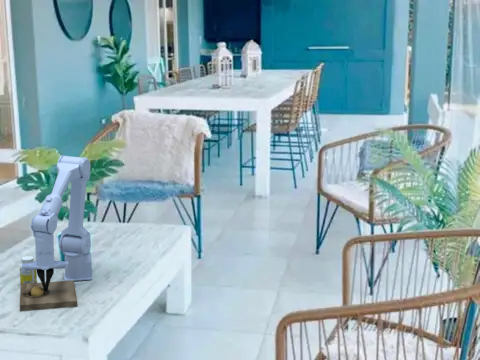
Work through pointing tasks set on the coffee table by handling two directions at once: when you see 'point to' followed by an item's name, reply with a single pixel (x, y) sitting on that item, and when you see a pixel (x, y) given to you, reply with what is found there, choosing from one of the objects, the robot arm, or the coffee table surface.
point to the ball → (37, 291)
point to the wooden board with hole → (48, 296)
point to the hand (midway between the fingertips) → (45, 290)
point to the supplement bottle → (27, 272)
